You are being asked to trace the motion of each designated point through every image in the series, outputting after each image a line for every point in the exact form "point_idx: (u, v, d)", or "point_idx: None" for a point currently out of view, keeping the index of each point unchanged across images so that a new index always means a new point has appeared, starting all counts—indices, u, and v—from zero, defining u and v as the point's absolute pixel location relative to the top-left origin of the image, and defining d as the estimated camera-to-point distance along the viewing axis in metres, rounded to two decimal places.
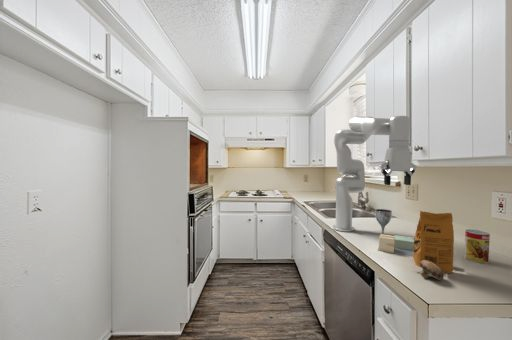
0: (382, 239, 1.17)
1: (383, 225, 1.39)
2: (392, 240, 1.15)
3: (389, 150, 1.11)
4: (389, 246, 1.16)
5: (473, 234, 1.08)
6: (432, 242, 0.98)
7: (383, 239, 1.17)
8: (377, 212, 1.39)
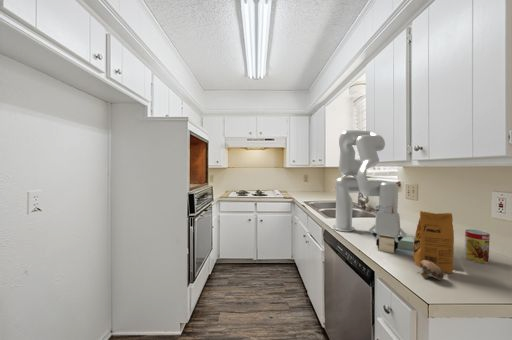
0: (382, 239, 1.17)
1: None
2: (392, 240, 1.15)
3: None
4: (389, 246, 1.16)
5: (473, 234, 1.09)
6: (432, 242, 0.98)
7: (383, 239, 1.17)
8: None
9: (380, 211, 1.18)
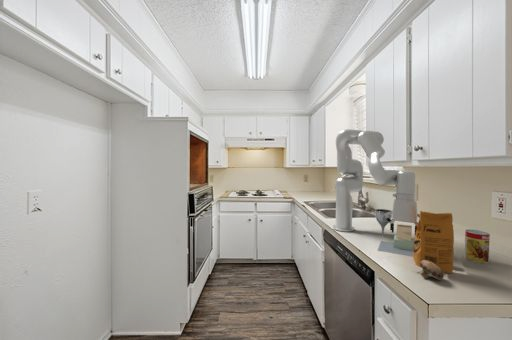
0: (400, 228, 1.21)
1: (383, 225, 1.39)
2: (410, 229, 1.19)
3: (416, 203, 1.20)
4: (406, 234, 1.20)
5: (473, 234, 1.09)
6: (432, 242, 0.98)
7: (401, 228, 1.21)
8: (377, 212, 1.39)
9: (397, 199, 1.22)
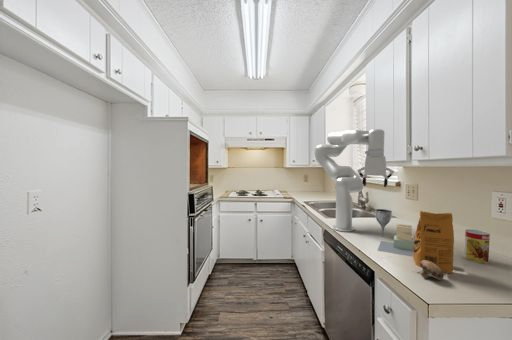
0: (400, 228, 1.21)
1: (383, 225, 1.39)
2: (410, 229, 1.19)
3: (385, 158, 1.33)
4: (406, 234, 1.20)
5: (473, 234, 1.09)
6: (432, 242, 0.98)
7: (401, 228, 1.21)
8: (377, 212, 1.39)
9: (369, 155, 1.35)
